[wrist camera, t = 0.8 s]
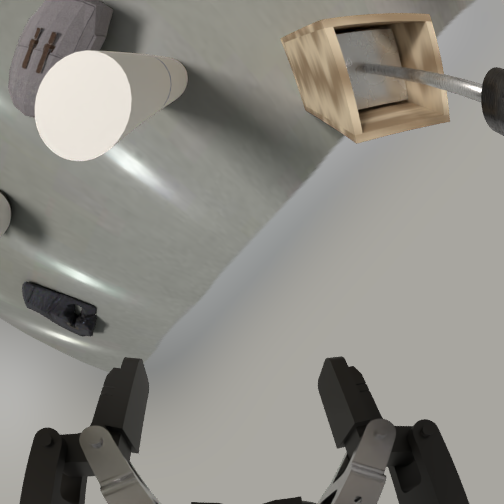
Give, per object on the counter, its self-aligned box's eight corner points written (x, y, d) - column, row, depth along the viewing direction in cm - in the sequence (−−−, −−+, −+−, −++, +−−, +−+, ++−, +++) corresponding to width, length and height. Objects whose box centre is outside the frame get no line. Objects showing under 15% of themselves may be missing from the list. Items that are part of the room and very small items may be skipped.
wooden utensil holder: (280, 38, 30) (320, 19, 16) (354, 25, 28) (429, 14, 14) (305, 110, 37) (356, 143, 23) (373, 93, 35) (449, 121, 21)
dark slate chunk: (24, 268, 50) (16, 282, 46) (101, 306, 58) (96, 321, 55) (25, 304, 57) (19, 317, 53) (92, 337, 66) (88, 351, 62)
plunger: (317, 37, 22) (490, 23, 4) (387, 29, 20) (565, 47, 3) (340, 112, 27) (495, 215, 9) (404, 98, 26) (564, 180, 8)
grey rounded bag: (61, -9, 19) (14, 100, 28) (32, -16, 12) (-17, 112, 22) (133, 10, 25) (75, 126, 34) (112, 0, 18) (48, 142, 28)
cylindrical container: (198, 78, 33) (156, 95, 13) (163, 113, 35) (88, 181, 16) (163, 47, 29) (76, 30, 9) (129, 84, 32) (19, 122, 12)
